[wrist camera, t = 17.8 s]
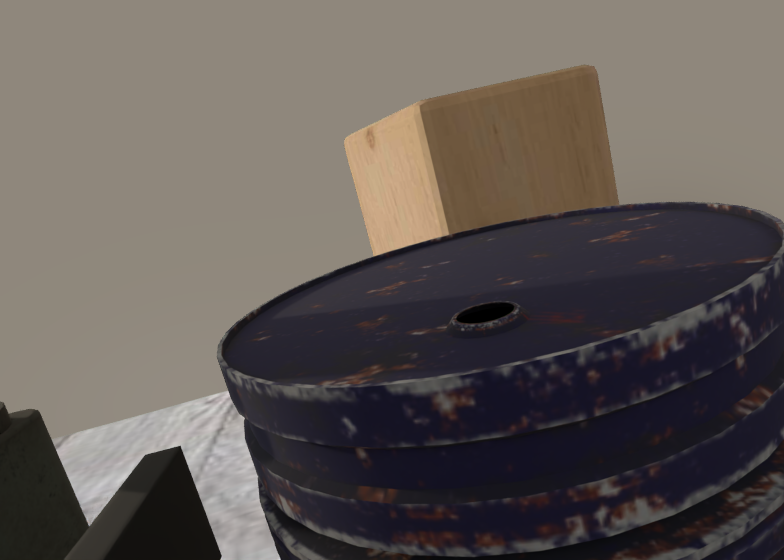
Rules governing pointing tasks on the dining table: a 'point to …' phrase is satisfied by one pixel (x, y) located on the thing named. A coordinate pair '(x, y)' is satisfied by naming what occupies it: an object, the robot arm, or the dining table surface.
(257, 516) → the dining table surface
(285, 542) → the dark oil barrel
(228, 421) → the dining table surface
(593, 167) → the wooden block
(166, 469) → the robot arm
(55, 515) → the candle
